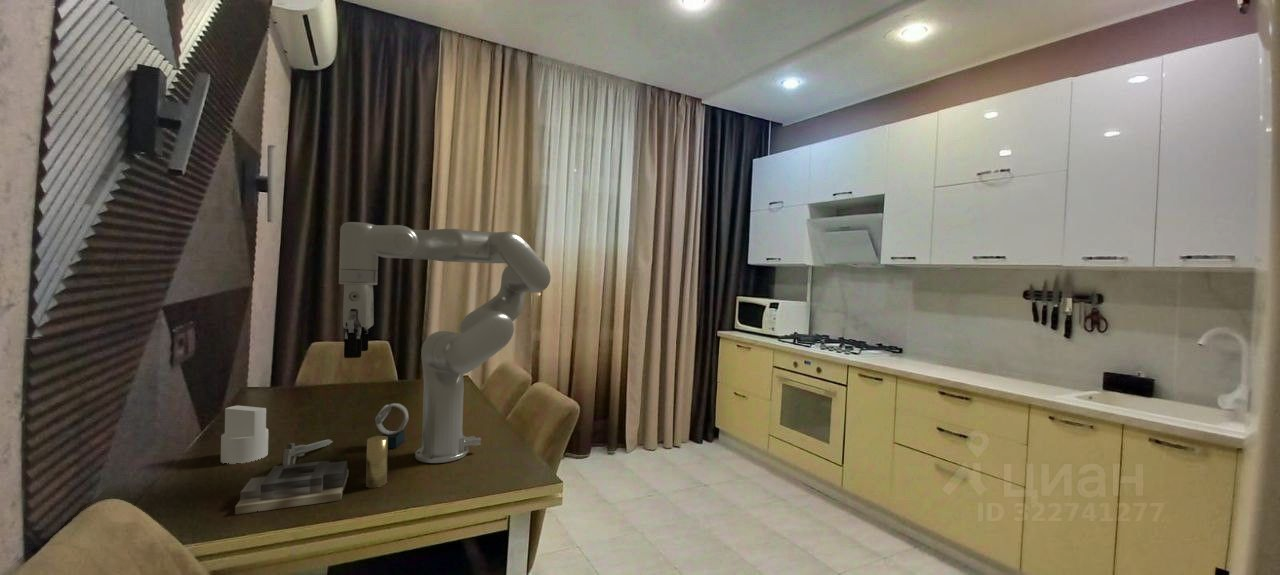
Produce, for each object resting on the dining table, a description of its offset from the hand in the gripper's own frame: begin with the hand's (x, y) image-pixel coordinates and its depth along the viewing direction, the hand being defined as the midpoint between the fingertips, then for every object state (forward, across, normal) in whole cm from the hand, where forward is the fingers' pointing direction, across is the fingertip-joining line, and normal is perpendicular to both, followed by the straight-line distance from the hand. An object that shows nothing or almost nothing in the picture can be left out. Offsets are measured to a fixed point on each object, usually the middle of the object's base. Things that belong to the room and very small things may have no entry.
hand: (356, 354), depth 110 cm
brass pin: (+28, -6, -5) cm, 29 cm away
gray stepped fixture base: (+28, -6, +9) cm, 30 cm away
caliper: (+28, +17, +12) cm, 35 cm away
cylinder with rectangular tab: (+28, +20, +26) cm, 43 cm away
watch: (+28, +20, -6) cm, 35 cm away
